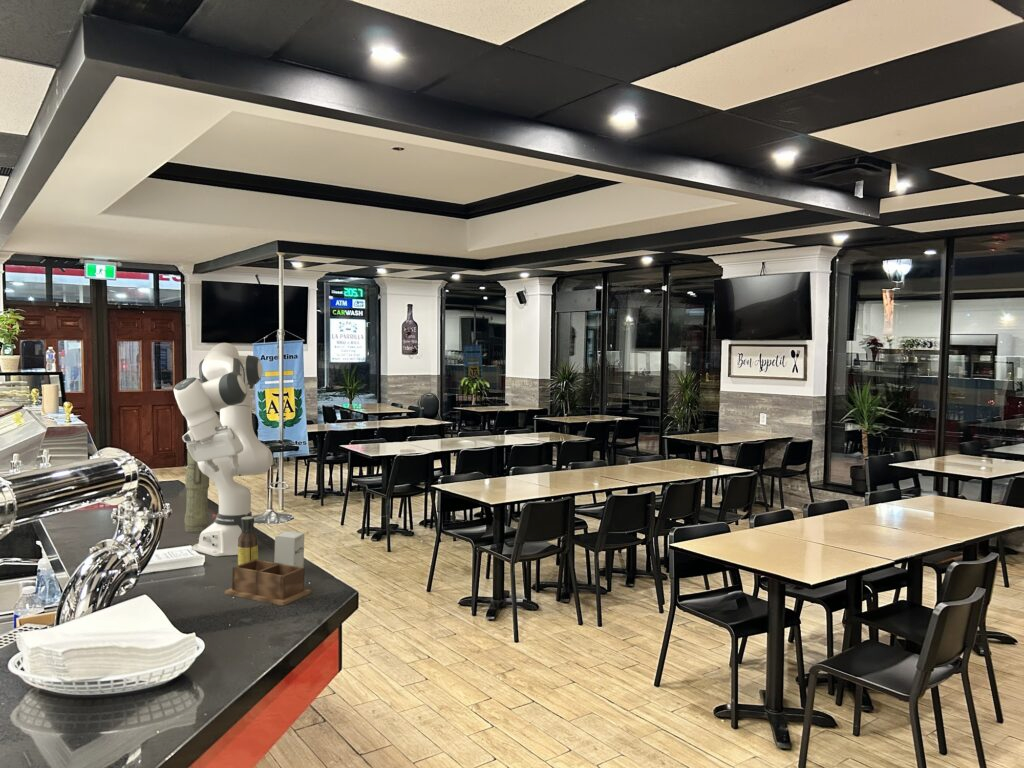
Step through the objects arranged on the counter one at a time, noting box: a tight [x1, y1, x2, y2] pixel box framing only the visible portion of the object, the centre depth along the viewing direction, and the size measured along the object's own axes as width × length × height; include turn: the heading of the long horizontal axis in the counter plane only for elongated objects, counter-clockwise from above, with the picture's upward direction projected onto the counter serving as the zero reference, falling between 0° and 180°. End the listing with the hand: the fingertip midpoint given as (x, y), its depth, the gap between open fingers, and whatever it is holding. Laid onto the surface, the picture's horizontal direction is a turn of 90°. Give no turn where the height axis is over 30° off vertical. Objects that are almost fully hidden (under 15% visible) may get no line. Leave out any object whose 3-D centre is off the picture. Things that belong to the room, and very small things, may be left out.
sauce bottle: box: [237, 516, 259, 566], centre depth 240 cm, size 6×6×20 cm
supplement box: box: [273, 531, 305, 568], centre depth 248 cm, size 7×7×13 cm
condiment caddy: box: [224, 559, 312, 607], centre depth 226 cm, size 22×13×8 cm, turn 68°
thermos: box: [183, 449, 210, 534], centre depth 295 cm, size 9×12×35 cm
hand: (226, 469), depth 227 cm, fingers open, 8 cm apart
